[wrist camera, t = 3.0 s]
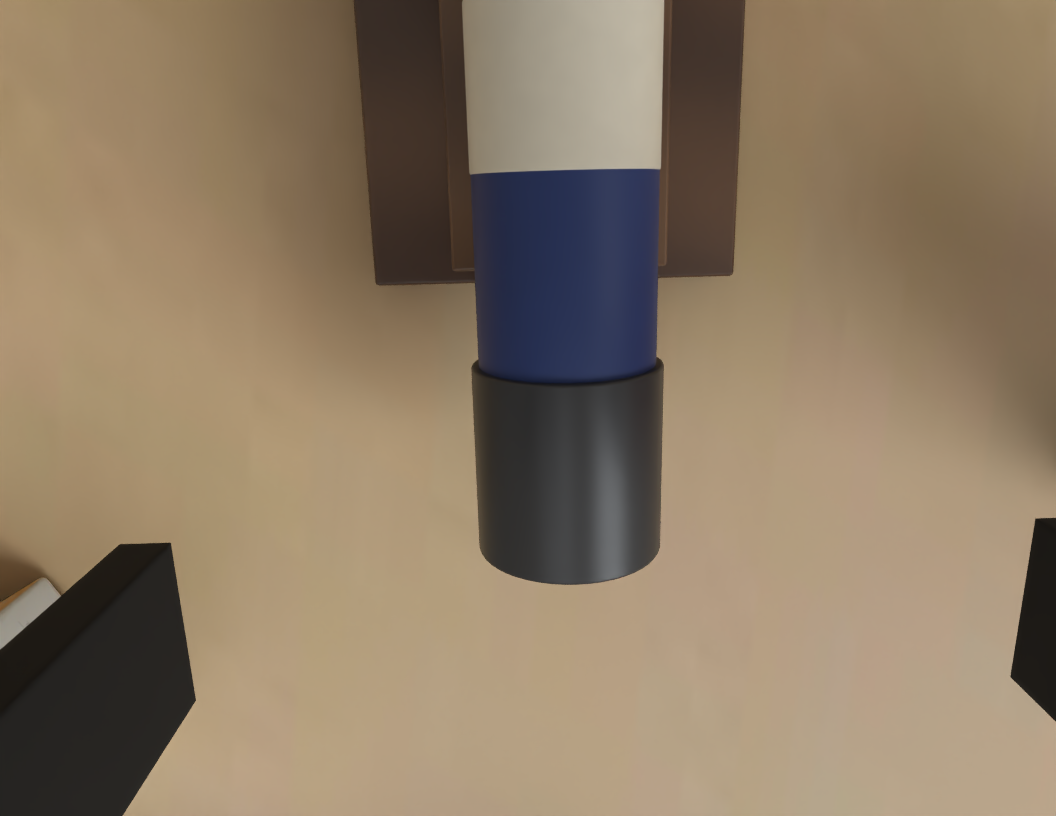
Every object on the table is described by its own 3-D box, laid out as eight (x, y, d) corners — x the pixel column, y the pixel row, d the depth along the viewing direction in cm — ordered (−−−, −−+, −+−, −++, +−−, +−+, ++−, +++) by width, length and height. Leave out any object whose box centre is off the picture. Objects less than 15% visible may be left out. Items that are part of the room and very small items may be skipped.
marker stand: (721, 271, 21) (812, 305, 15) (382, 280, 21) (326, 319, 14) (741, -215, 18) (865, -436, 12) (346, -208, 18) (256, -426, 11)
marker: (644, 504, 19) (676, 582, 15) (482, 509, 19) (475, 589, 15) (654, -227, 15) (703, -368, 11) (450, -223, 15) (429, -364, 11)
